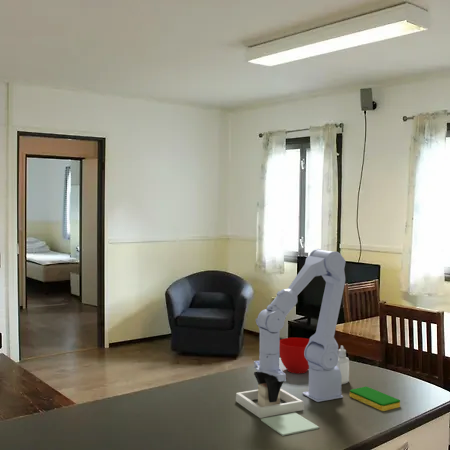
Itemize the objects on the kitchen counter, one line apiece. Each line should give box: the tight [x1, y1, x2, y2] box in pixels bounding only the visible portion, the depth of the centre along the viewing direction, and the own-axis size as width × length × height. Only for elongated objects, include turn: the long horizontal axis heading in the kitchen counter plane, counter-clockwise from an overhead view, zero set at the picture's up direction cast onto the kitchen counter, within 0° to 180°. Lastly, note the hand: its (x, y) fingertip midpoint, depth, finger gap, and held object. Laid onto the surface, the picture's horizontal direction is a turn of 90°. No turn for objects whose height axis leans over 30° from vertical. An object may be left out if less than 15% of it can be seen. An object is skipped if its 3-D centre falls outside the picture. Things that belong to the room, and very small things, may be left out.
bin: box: [235, 387, 304, 419], centre depth 163 cm, size 14×14×2 cm
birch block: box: [257, 383, 281, 407], centre depth 163 cm, size 5×4×6 cm
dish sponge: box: [349, 386, 401, 412], centre depth 168 cm, size 7×14×2 cm, turn 30°
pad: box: [260, 411, 320, 437], centre depth 150 cm, size 11×11×1 cm
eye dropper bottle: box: [336, 345, 350, 385], centre depth 184 cm, size 4×6×12 cm
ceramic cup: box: [279, 337, 310, 374], centre depth 196 cm, size 13×17×10 cm
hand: (268, 399), depth 163 cm, fingers closed on birch block, 4 cm apart
